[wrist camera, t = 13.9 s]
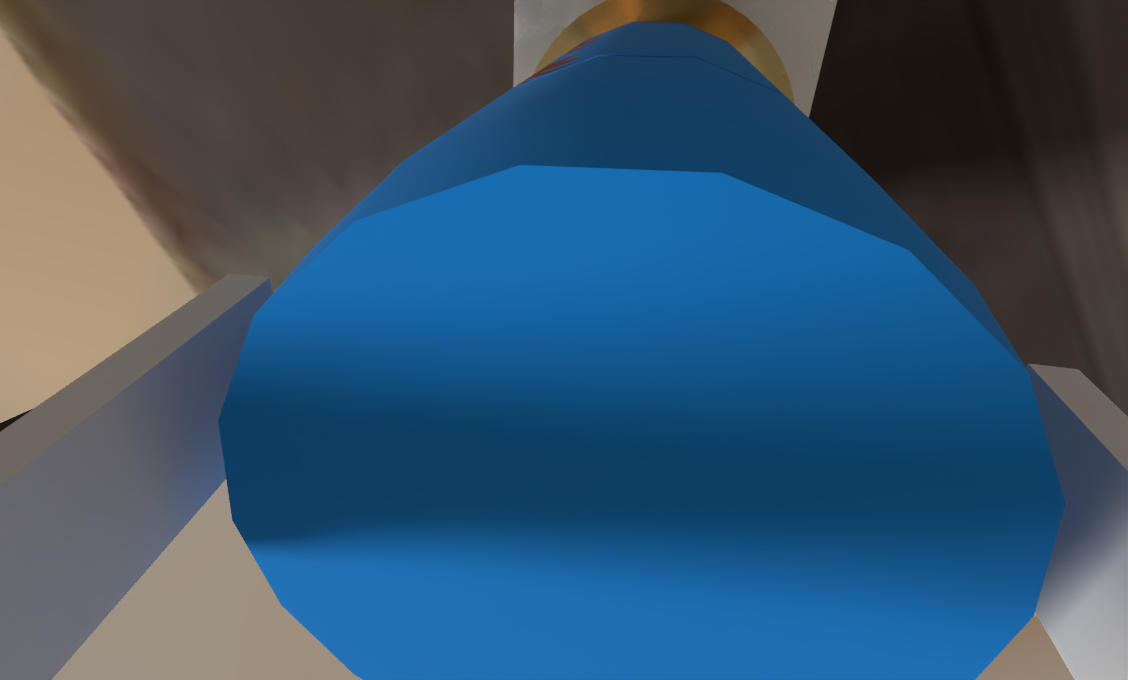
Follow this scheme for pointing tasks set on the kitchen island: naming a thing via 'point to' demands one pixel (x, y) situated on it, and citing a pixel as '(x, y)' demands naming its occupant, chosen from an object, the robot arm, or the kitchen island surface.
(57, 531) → the robot arm
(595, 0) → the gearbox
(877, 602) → the thermos
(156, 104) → the kitchen island surface
